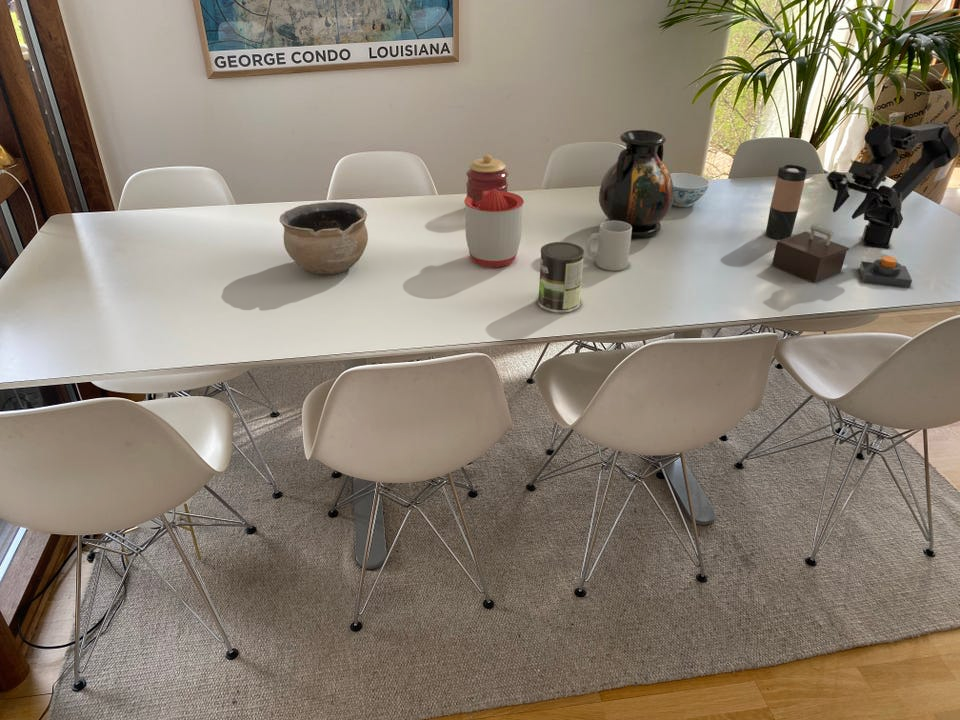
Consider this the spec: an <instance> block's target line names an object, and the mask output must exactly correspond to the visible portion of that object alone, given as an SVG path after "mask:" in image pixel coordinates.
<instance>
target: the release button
mask: <svg viewBox="0 0 960 720" xmlns="http://www.w3.org/2000/svg"><path fill="white" fill-rule="evenodd" d="M881 259H882V260H881V263H880V265H882V266H885V267H889V268H894V267H895V266H896V263H898V259H897V258H895V257H893V256H887V255H885V256H882V257H881Z"/></svg>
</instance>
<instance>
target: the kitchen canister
mask: <svg viewBox="0 0 960 720" xmlns="http://www.w3.org/2000/svg"><path fill="white" fill-rule="evenodd" d="M468 167H469V169H468V170H466V172H465V174H466V177H467V181H466V183H465V184H466V197H467V196H468V197H469V198H471V199H473V200H472V203H477V202H479V201H482V191H491V190H492V189H496V190H497V191H506V192H508V186H509V183H508V181H507V178H508V176H509V171H507V170H506V163H504V162H502V161H501V160H500V159H497V158H494V157H492V155H491V154H488V153H486V154H484V155H483V157H481V158H477V159H475V160H473V161H472V162H471V163H469V164H468Z"/></svg>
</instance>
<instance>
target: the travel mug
mask: <svg viewBox="0 0 960 720" xmlns="http://www.w3.org/2000/svg"><path fill="white" fill-rule="evenodd" d="M807 173H808V170H807V168H806V167H803V166H800V165H795V164H785V165H784V166H782V167H781V166H779V167H778V172H777V176H776V180H775V185H774V188H773V189H774V190H773V193H772V197H771V203H770V206H769V212H768V217H767V223H766V229H765V235H766V237H768V238H771V239H774V240H778V241H779V240H782V239H785V238H788V237H791V236H792V234H793V231H794V227H795V223H796V219H797V216H798V212H799V208H800V205H801V200H802V194H803V191H804V187H805V181H806V176H807Z"/></svg>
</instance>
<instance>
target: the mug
mask: <svg viewBox="0 0 960 720" xmlns="http://www.w3.org/2000/svg"><path fill="white" fill-rule="evenodd" d="M605 221H606V220H605ZM605 221H603V222H601V224H599V230H598V232H595V233H591V234H590V235H589V236H588V238H587V241H586V254H587V255H588V257H589V258H594V259H595V258H596V265H597V267H598V268H600V269H603V270H605V271H612V272H617V271H622V270H625V269H627V268H628V266H629V259H630V251H631V250H630V249H631V242H632V241H631V240H632V238H631V233H632V226H631V225H630V224H628V223H626V222H622V221H606V222H605ZM594 240H598V242H597V249H596V251H592V250H591V246H592V243H593V241H594Z"/></svg>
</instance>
